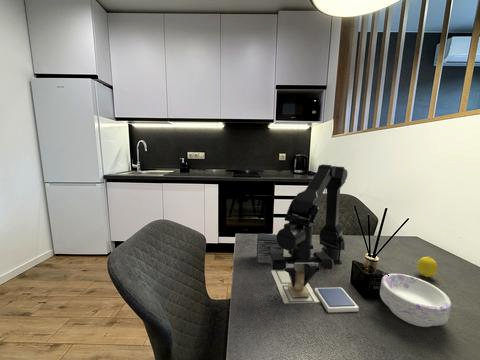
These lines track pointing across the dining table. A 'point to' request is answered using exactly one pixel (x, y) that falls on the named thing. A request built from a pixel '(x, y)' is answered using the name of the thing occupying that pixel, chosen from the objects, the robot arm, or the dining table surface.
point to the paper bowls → (415, 300)
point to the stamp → (298, 286)
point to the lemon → (427, 266)
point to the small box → (267, 247)
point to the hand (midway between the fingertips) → (298, 285)
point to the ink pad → (336, 300)
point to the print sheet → (282, 284)
